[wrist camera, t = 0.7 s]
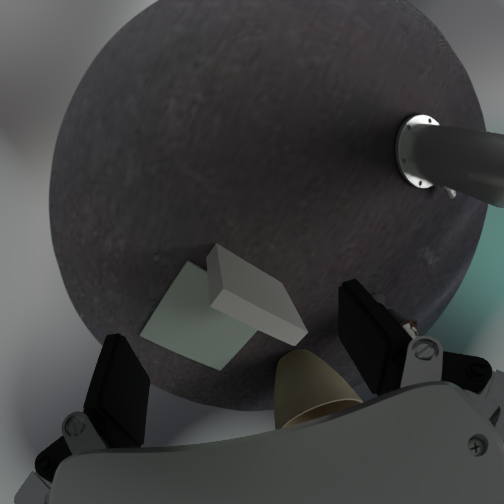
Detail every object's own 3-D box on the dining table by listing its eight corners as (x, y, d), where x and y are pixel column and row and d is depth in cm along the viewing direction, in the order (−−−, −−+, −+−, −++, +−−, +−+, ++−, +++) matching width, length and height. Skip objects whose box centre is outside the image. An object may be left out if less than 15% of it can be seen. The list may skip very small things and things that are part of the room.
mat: (274, 308, 44) (275, 310, 44) (220, 368, 48) (220, 370, 47) (187, 260, 38) (187, 261, 38) (140, 333, 42) (139, 335, 41)
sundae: (392, 300, 49) (437, 347, 35) (367, 323, 50) (407, 374, 37) (380, 281, 46) (430, 330, 33) (353, 307, 47) (396, 362, 34)
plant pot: (344, 340, 51) (382, 399, 36) (305, 388, 55) (329, 446, 41) (281, 324, 46) (312, 397, 31) (244, 380, 50) (259, 448, 36)
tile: (281, 282, 42) (308, 332, 32) (271, 295, 43) (293, 347, 32) (216, 243, 38) (223, 288, 27) (205, 258, 39) (208, 307, 28)
